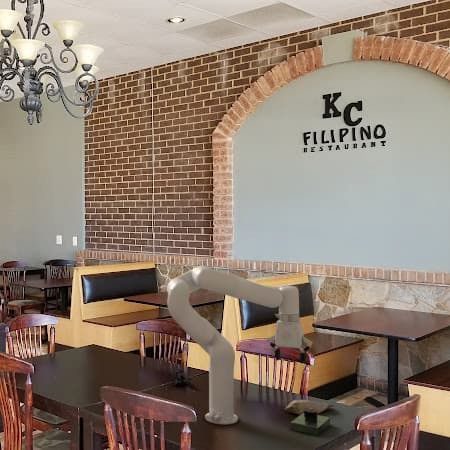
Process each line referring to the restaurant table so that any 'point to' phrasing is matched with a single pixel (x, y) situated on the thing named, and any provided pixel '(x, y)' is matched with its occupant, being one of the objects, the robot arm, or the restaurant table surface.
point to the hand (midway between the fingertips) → (290, 361)
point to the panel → (310, 425)
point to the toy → (180, 378)
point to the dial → (310, 414)
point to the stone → (306, 406)
